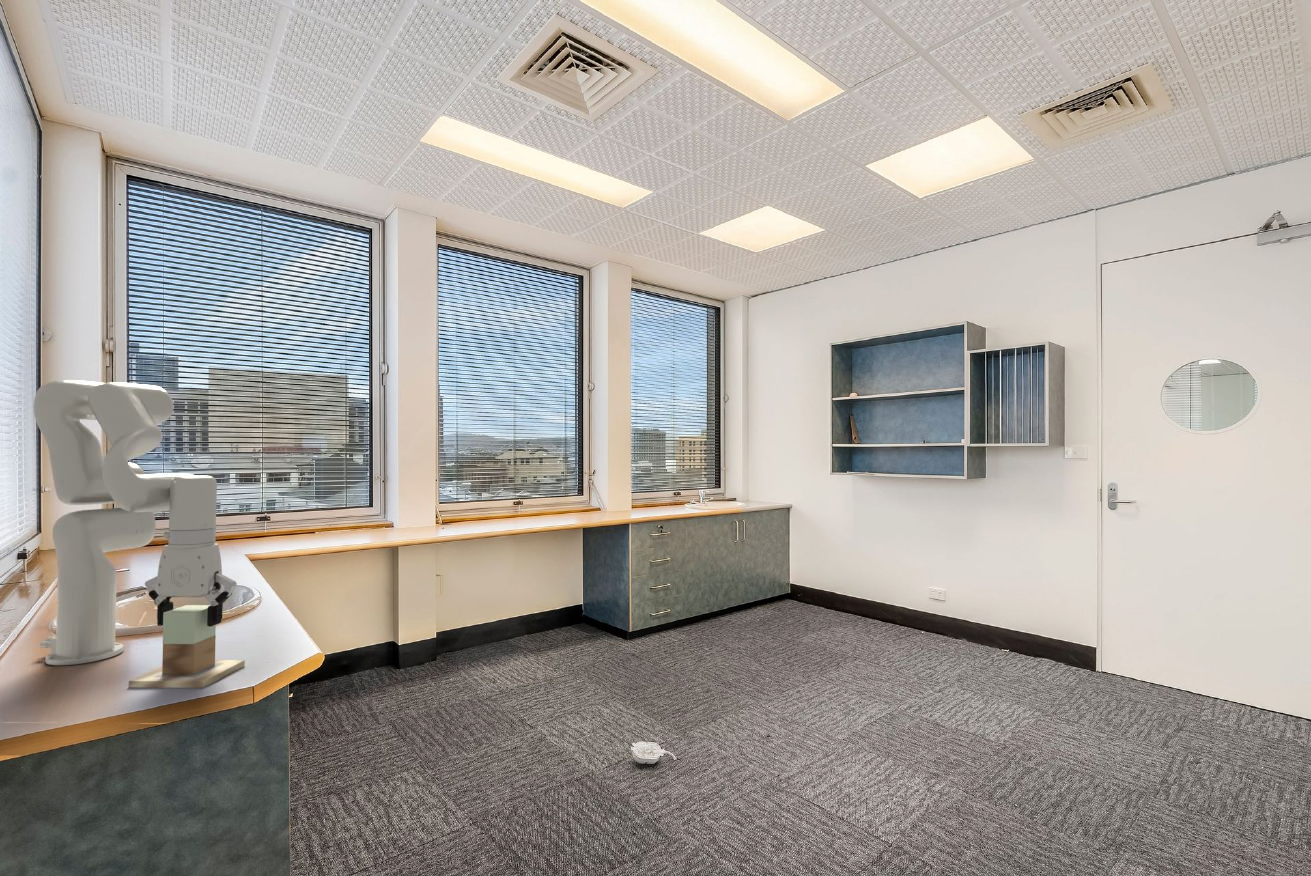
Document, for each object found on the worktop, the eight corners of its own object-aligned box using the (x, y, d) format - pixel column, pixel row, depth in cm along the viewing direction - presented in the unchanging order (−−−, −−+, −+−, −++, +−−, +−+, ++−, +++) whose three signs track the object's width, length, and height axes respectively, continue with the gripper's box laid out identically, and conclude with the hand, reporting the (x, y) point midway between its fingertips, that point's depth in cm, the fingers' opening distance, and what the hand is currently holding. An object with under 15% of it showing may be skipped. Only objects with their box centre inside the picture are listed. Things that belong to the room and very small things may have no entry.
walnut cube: (162, 675, 121) (162, 644, 121) (184, 664, 127) (185, 634, 127) (193, 675, 121) (194, 644, 121) (214, 664, 127) (215, 635, 127)
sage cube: (162, 643, 121) (163, 612, 121) (185, 634, 127) (186, 605, 127) (193, 644, 121) (194, 612, 121) (215, 635, 127) (216, 605, 127)
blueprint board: (128, 687, 118) (128, 680, 118) (176, 665, 130) (176, 659, 130) (203, 687, 118) (203, 681, 118) (244, 665, 130) (244, 660, 130)
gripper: (133, 539, 121) (130, 629, 120) (223, 541, 121) (220, 630, 121) (163, 534, 128) (160, 618, 128) (248, 535, 128) (245, 619, 128)
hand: (189, 624), depth 124 cm, fingers open, 9 cm apart
